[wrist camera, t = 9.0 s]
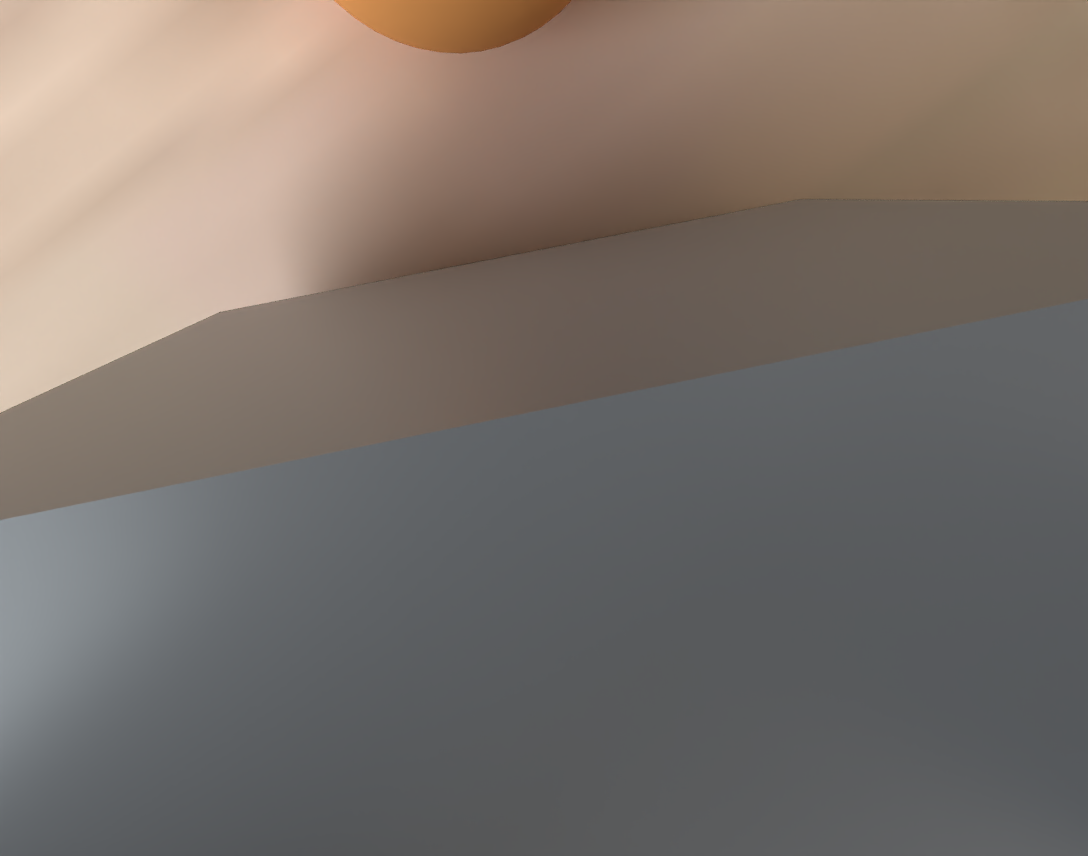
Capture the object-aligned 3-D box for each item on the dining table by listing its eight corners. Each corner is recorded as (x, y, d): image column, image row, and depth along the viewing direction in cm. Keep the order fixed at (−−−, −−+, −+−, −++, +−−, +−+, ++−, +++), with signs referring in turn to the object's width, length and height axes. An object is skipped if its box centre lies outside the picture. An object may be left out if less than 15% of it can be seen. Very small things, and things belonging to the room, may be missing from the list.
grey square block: (823, 669, 15) (1240, 1227, 7) (375, 768, 15) (257, 1482, 7) (800, 198, 12) (1552, 205, 4) (219, 312, 12) (-420, 606, 3)
